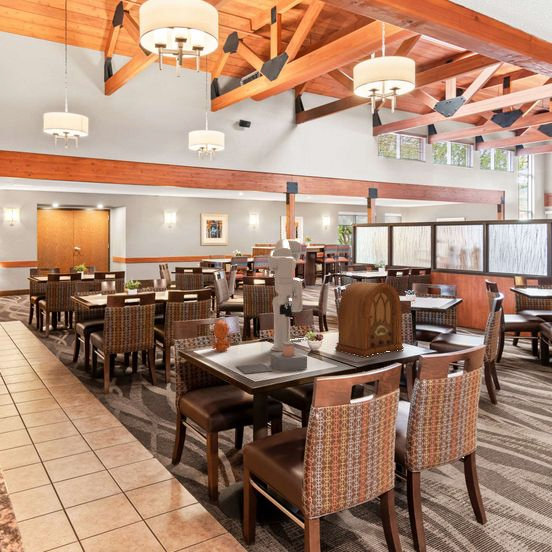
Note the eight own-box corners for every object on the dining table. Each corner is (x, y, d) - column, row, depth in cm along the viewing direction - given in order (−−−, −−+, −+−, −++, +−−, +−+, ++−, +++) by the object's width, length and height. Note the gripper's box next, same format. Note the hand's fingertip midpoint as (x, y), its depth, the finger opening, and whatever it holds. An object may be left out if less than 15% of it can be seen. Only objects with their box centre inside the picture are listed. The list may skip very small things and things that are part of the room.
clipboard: (283, 332, 331) (312, 338, 308) (283, 334, 332) (312, 341, 308) (260, 335, 320) (288, 342, 296) (260, 337, 320) (288, 345, 296)
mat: (236, 367, 239) (236, 366, 239) (262, 364, 244) (262, 363, 244) (244, 374, 226) (244, 373, 226) (272, 371, 231) (272, 370, 231)
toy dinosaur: (227, 347, 285) (227, 317, 283) (233, 351, 275) (233, 320, 274) (209, 349, 280) (208, 319, 279) (215, 353, 270) (214, 321, 269)
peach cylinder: (282, 362, 242) (282, 342, 241) (291, 361, 244) (291, 341, 243) (285, 364, 238) (286, 344, 237) (294, 363, 239) (294, 343, 239)
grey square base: (270, 364, 245) (270, 353, 244) (295, 362, 250) (295, 350, 249) (280, 371, 232) (280, 359, 231) (307, 368, 237) (307, 356, 236)
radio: (364, 358, 260) (365, 284, 257) (335, 350, 279) (335, 282, 276) (403, 350, 279) (405, 282, 277) (373, 343, 298) (374, 279, 296)
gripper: (273, 280, 246) (273, 313, 247) (283, 282, 230) (283, 317, 230) (287, 280, 248) (287, 313, 249) (298, 282, 232) (298, 317, 232)
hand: (285, 315), depth 240 cm, fingers open, 9 cm apart
